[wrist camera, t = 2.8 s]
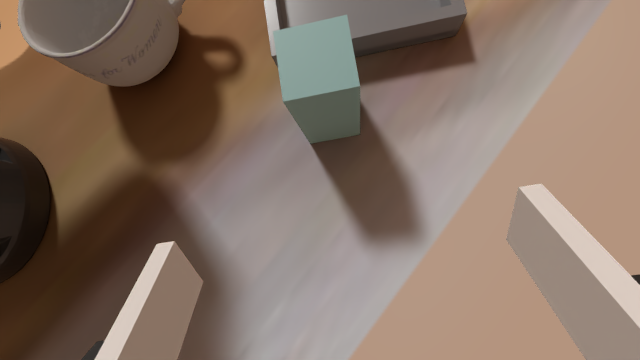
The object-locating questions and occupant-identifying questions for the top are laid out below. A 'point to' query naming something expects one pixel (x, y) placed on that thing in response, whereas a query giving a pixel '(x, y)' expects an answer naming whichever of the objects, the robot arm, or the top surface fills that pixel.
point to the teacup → (104, 36)
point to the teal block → (320, 78)
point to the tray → (372, 20)
